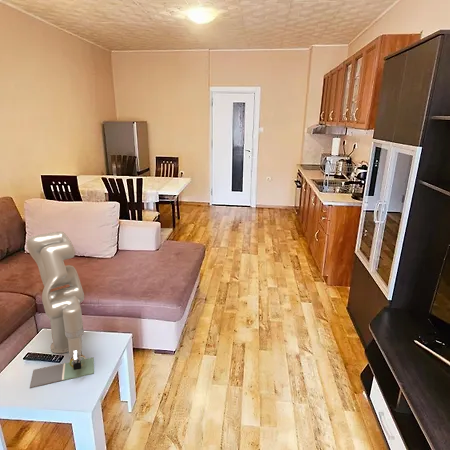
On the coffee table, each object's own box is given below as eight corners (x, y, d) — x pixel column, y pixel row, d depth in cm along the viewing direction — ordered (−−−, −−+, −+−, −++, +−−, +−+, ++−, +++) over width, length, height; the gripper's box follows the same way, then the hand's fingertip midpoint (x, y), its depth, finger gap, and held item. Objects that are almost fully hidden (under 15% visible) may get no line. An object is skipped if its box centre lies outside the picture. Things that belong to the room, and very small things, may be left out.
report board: (33, 370, 151) (33, 369, 151) (93, 358, 160) (93, 356, 160) (29, 388, 141) (29, 387, 141) (94, 373, 151) (93, 372, 150)
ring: (87, 364, 155) (85, 350, 152) (86, 369, 152) (84, 355, 150) (71, 366, 153) (69, 352, 151) (69, 371, 151) (67, 357, 148)
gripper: (66, 321, 153) (69, 351, 159) (63, 344, 138) (67, 377, 143) (83, 318, 156) (86, 348, 161) (82, 341, 141) (86, 372, 146)
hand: (77, 361), depth 152 cm, fingers open, 9 cm apart
